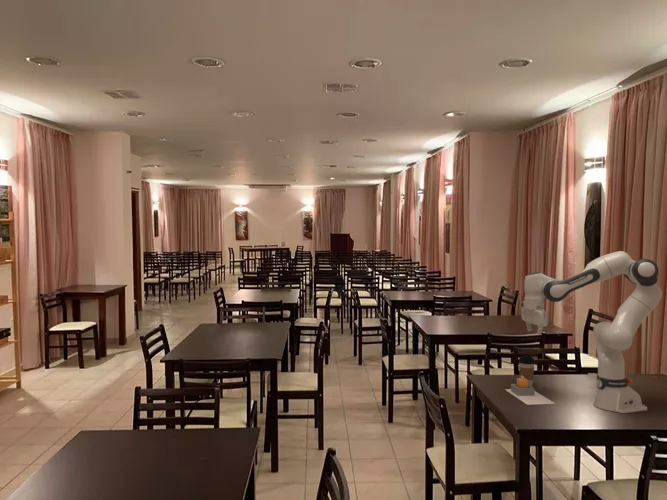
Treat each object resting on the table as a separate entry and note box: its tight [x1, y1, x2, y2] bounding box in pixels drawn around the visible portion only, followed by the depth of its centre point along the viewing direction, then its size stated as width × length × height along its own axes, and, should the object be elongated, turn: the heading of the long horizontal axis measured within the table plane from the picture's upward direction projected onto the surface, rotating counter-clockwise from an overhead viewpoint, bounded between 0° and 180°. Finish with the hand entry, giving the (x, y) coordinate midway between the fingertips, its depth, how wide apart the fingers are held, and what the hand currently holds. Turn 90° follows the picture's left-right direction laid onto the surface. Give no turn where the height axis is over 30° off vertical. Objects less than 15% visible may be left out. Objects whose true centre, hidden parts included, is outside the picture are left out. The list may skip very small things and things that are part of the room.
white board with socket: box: [504, 383, 556, 406], centre depth 258 cm, size 14×24×4 cm, turn 6°
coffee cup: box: [517, 356, 536, 387], centre depth 280 cm, size 8×8×15 cm
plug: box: [516, 376, 528, 388], centre depth 263 cm, size 4×4×9 cm
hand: (534, 332), depth 260 cm, fingers open, 8 cm apart
